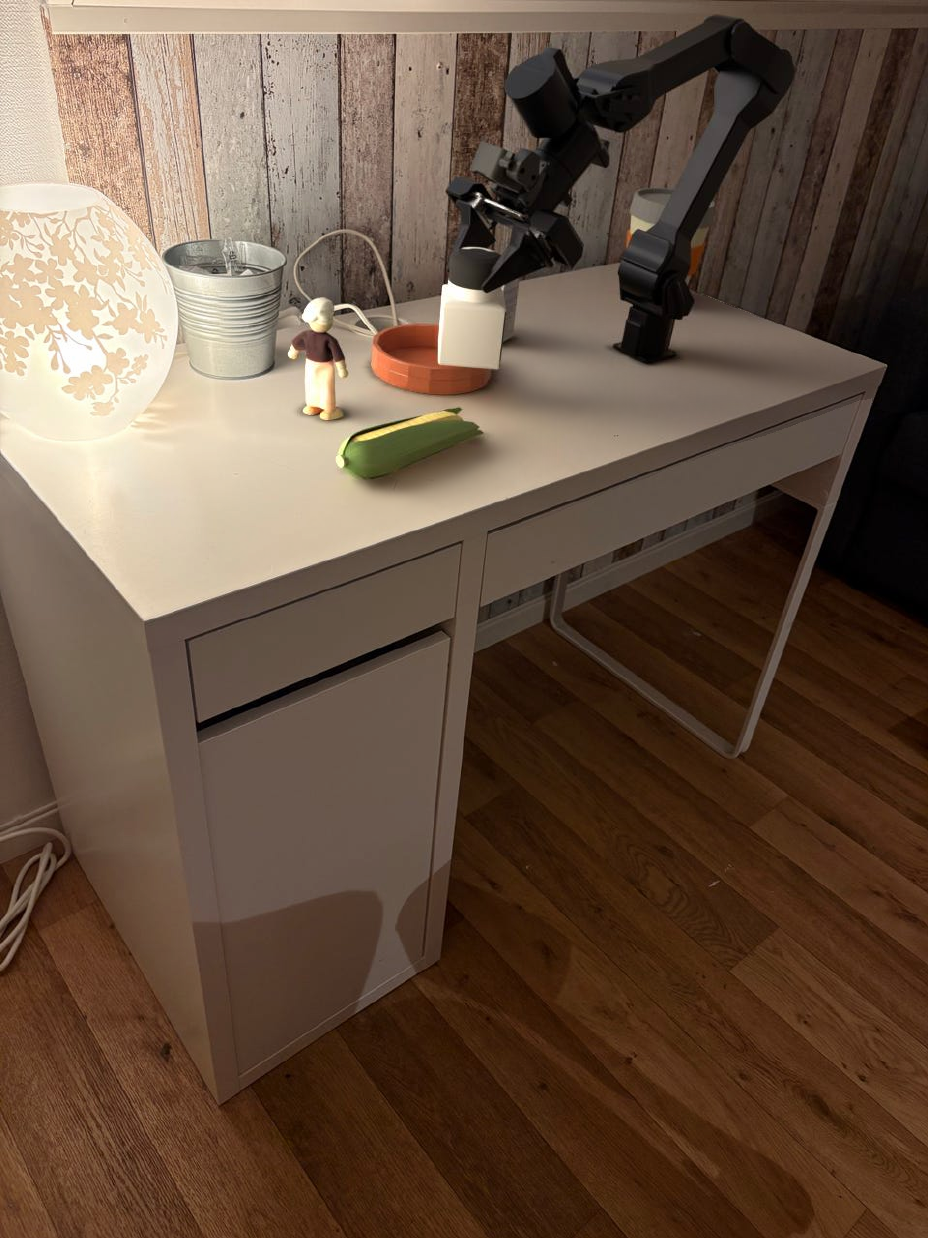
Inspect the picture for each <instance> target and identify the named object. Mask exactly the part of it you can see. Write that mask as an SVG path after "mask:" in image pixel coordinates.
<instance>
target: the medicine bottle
mask: <svg viewBox="0 0 928 1238" xmlns="http://www.w3.org/2000/svg"><path fill="white" fill-rule="evenodd" d="M451 253H452V252H451ZM501 255H502V254H499V253H498V252H496V251H494V250H493V249H490V248H487V249H486V248H480V247H465V248H461V249H458V250H456V251H454V252H453V253H452V254H450V256H449V259H450V267H449V273H448V281H447V282H448V283H447V284H446V283H445V284H443V285H442V287H441V297H440V308H439V309H440V310H439V324H438V325H439V335H438V363H439V364H440V365H447V366H460V367H473V368H485V369H492V370H499V369H500V367H501V362H502V361H501V360H502V351H503V345H504V344H503V343H504V342H503V336H504V328H505V319H506V306H505V299H504V293H503V290H502V287H499V288H497V289H495V290H493V291H491V292H489V293H485V292H483V290H482V289H481V285H482V283H483V281H484V280H485V278H486V276H487V275H488V273H489V272H490V270H491V269H492V268H493V266H494V265H495V263H496V262H497V261H498V259H499V258H500V256H501Z"/></svg>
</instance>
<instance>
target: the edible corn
mask: <svg viewBox="0 0 928 1238" xmlns="http://www.w3.org/2000/svg"><path fill="white" fill-rule="evenodd" d="M463 410H464V409H463V408H461V407H459V406H458V407H453V408H448V409H444V410H439V411H434V412H431V413H426V414H421V415H417V416H412V417H408V418H403V419H399V420H395V421H391V422H385V423H382V424H377V425H373V426H370V427H367V428H363V429H361V430H359V431H356V432H354V433H353V434H351V435H350V436H349V437H347V438H345V440H344V441H343V442H342V444H341V446H340V448H339V450H338V452H337V453H338V454H337V455H336V457H335V462H336V465H337V466H338V467H339V468H341V469H342V470H343V471H345V473H347V474H348V475H349V476H351V477H353V478H356V479H363V480H374V479H378V478H382V477H385V476H387V475H390V474H393V473H395V472H397V471H400V470H402V469H404V468H407V467H409V466H411V465H413V464H416V463H418V462H420V461H422V460H424V459H427V458H429V457H431V456H434V455H436V454H438V453H441V452H443V451H445V450H447V449H450V448H452V447H455V446H456V445H460V444H461V443H463V442H466V441H468V440H471V439H474V438H477V437H480V436H482V435H484V434H485V432H484V431H483V430H482V429H479V428H480V426H479V425H478V424H476V423H475V422H474V421H467V420H464V419H463V417H462V416H460V415H458V414H459V413H460V412H462V411H463Z"/></svg>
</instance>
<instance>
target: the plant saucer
mask: <svg viewBox="0 0 928 1238" xmlns="http://www.w3.org/2000/svg"><path fill="white" fill-rule="evenodd" d="M438 335H439V324H437V323H436V324H435V323H408V324H398V325H393V326H390V327H385V328H384V329H381V330H379V332H377V333H376V334H374V336H373V337H372V338H373V339H372V343H371V362H370V363H371V364H370V365H371V369H372V372H373V373H374V375H376V376H377V377H378V378H379V379H380V380H382V381H383V382H385V383H387V384H389V385H391V386H393V387H395V388H399V389H402V390H406V391H409V392H415V393H420V394H426V395H427V394H429V395H459V394H465V393H469V392H473V391H476V390H479V389H481V388H483V387H484V386H486V385H487V384H488V383H489V381H490V380H491V378H492V371H493V369H485V368H473V367H460V366H447V365H440V364H439V363H438Z"/></svg>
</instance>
